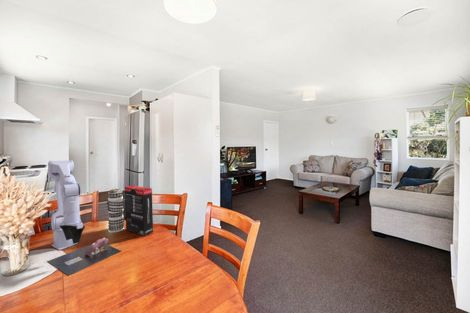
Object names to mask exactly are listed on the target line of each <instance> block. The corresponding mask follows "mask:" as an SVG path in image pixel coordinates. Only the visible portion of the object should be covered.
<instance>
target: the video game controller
mask: <svg viewBox="0 0 470 313" xmlns="http://www.w3.org/2000/svg"><path fill="white" fill-rule="evenodd" d="M109 241H110V240H109V239H108V238H106V237H103V238H99V239H97V240H95V241H94V242H93V243H91V244H92V245H91V244H90V245H91V246H90V247H89V248H88V249H87V250H86V251H85V255H89V254H91V253H92V252H94V253H96V252H97V251H98V250H99V249H100V250H101V249H103V247H104V246H105V245H106V244H107V245H108V243H109Z"/></svg>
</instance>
